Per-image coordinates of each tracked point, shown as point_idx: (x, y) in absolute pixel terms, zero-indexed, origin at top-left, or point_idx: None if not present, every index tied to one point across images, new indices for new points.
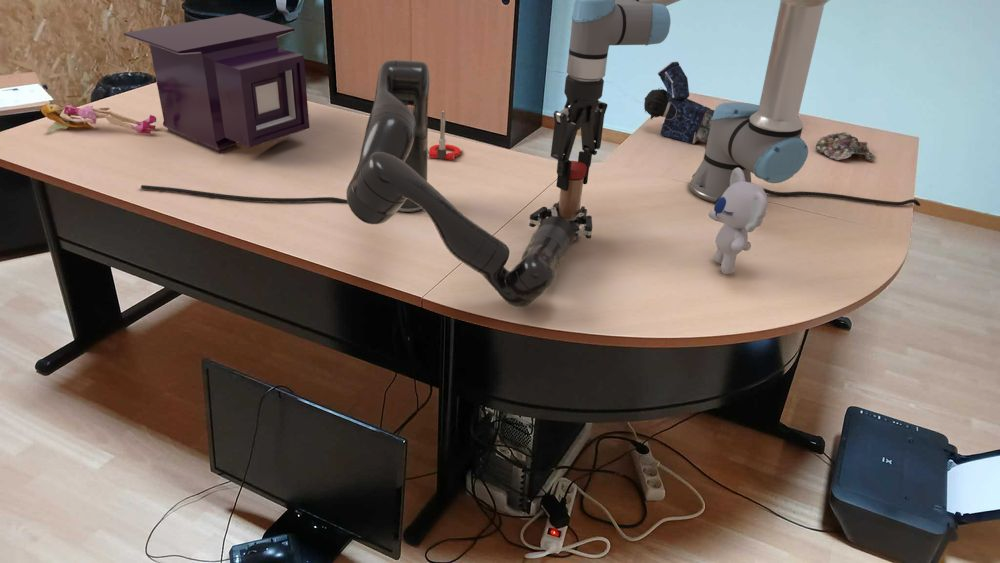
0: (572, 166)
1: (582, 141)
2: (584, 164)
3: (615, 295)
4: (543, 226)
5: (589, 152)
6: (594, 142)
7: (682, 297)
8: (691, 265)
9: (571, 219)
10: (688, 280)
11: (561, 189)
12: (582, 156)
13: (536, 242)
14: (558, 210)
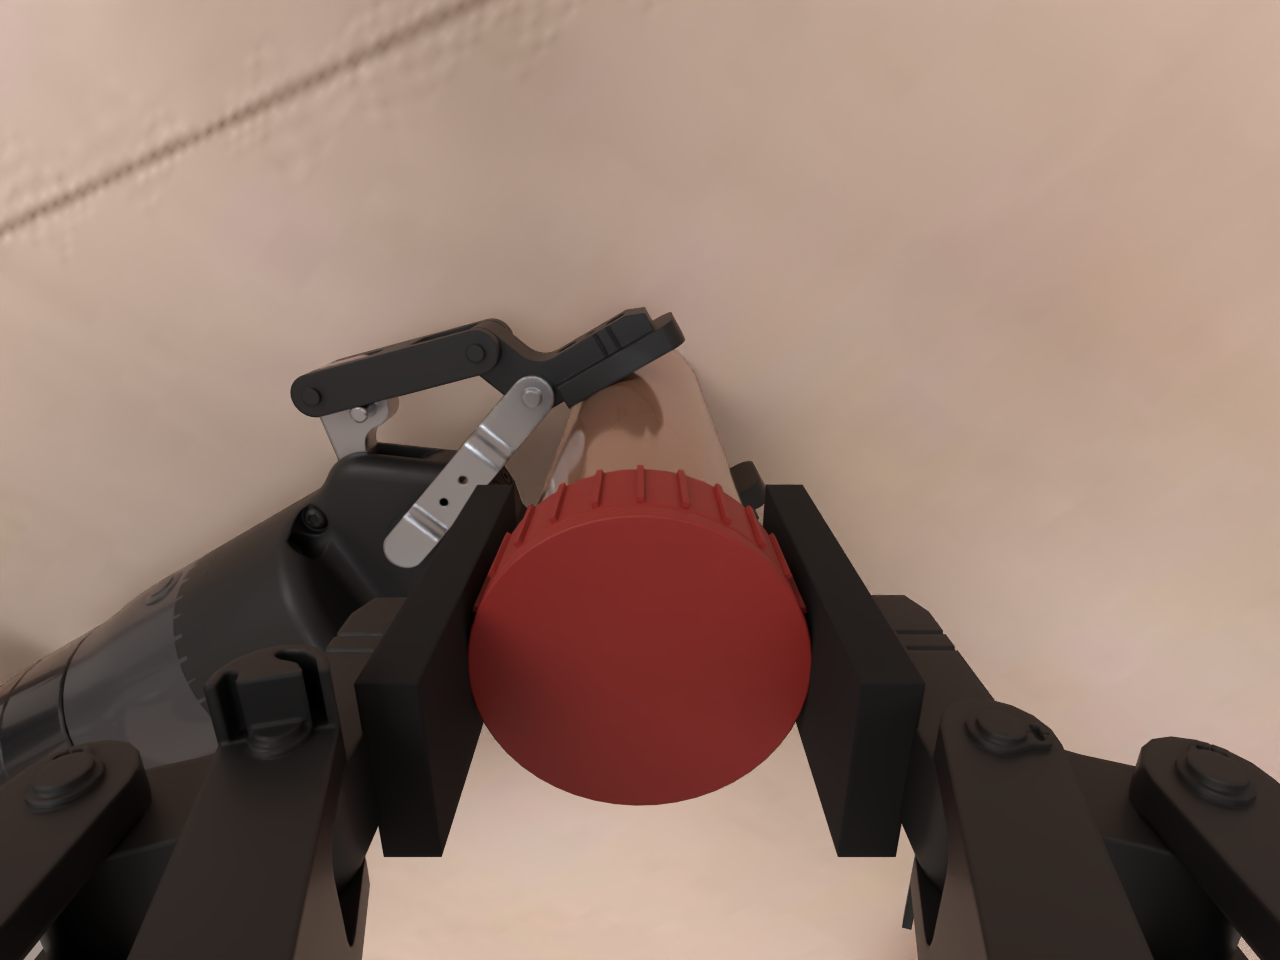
0: (598, 677)
1: (964, 896)
2: (789, 715)
3: (458, 838)
4: (159, 676)
5: (917, 854)
6: (1210, 922)
7: (664, 957)
8: (901, 868)
9: None
10: (786, 915)
11: (542, 490)
12: (838, 719)
13: (5, 781)
14: (569, 417)
